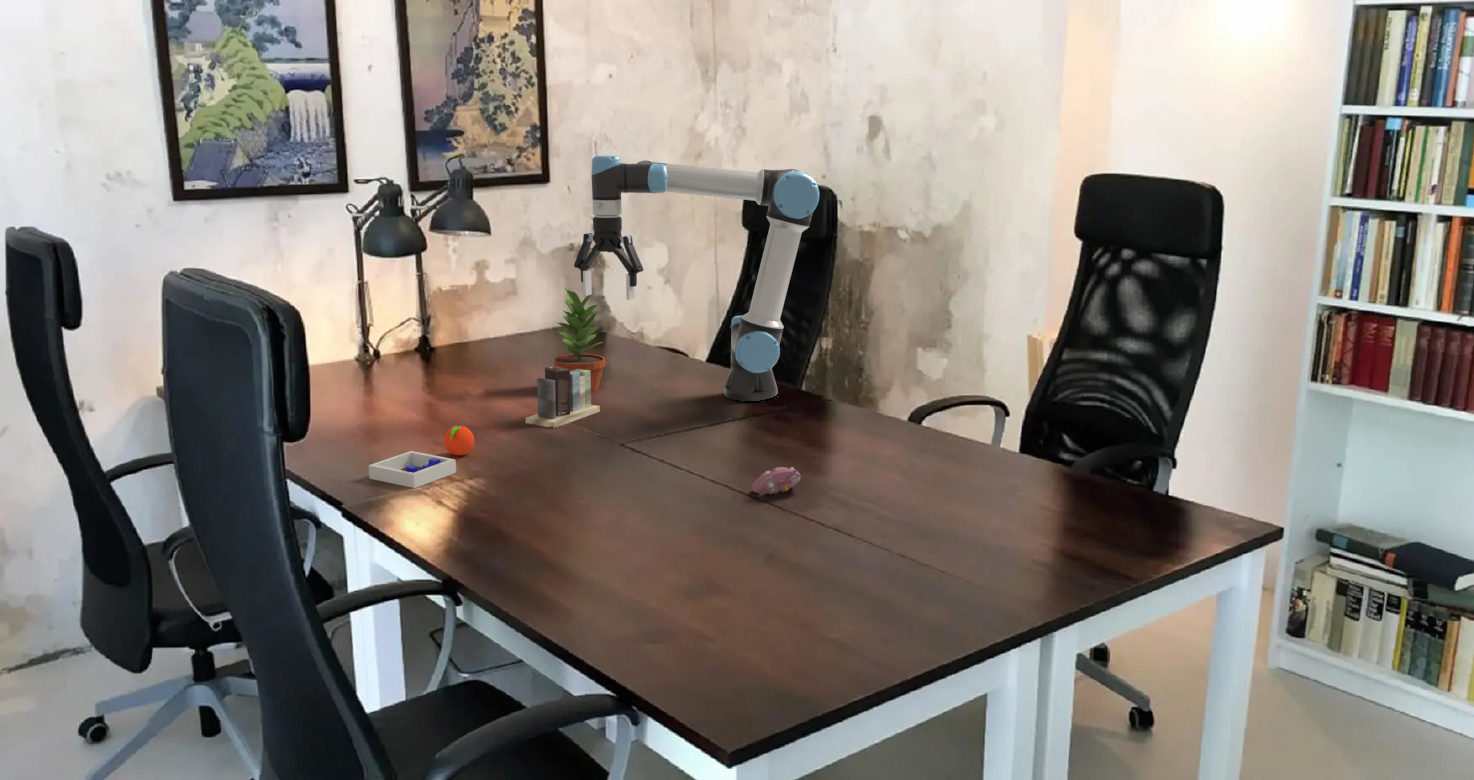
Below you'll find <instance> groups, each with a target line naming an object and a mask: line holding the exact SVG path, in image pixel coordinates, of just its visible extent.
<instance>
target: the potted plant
mask: <svg viewBox="0 0 1474 780" xmlns="http://www.w3.org/2000/svg"><path fill="white" fill-rule="evenodd" d="M564 289H565V291H566V294H567V297H568V298H567V297H565V298H566V300H564V301H565V303H566V305H567V307H568V308H569V310H570V311H565V310H563V309H562V308H560V310H561V311H562V312H563V314H562V317H563V319H564V320H565V321H566V323H565V322H557V320H555V323H557V324H558V325H560V326H561V327H563V328H564V329H565V330H567V331H569V332H571V333H568V332H565V331H563V332H562V331H559V330H557V333H558V334H559V335H561V336H562V342H563V346H564V348H565V349H566V350H567V351H569V352H570V353H571V354H564V355H560V356H556V357H555V358H554V367H556V366H559V367H562V368H565V369H569V370H570V371H573V370H576V369H583V370H590V371H591V393H593V392H596V391H598V390H599V387H600V383H601V379H602V375H603V371H604V368H605V366H606V357H604V356H602V355H599V354H593V353H586V352H588V351H589V350H591V349H593V348H595V347H597V346H599V345H600V344H602V343H603V341H598V342H595V343H593V344H592V345H589V346H587V344H588V343H590V342H591V341H592V340H593V339H594V338H595V337H596V335H597V334H596V333H594V332H595V331H597V330H598V329H599V327H600V324H599V325H598V326H592V324H593V320H594V319H595V318H596V316H597V313H598V312H599V310H597V311H596V309H597V307H599V306H600V303H599V304H593V305H590V306H589V307H588V308H586V309H585V307H584V306H585V305H586V304H587V302H588V301H589V300H590V298H591V297H592V296H593V294H595V291H596V290H597V289H595V291H593V292H592V294H591V295H587V296H586V297H584V299H583V300H582V301H581V299H580V297H579V295H578V294H577V293H576V292H575V291H572V290H570V288H566V287H564ZM564 313H565V314H564ZM593 333H594V334H593ZM573 334H574V335H575V336H576V337H575V336H574V335H573ZM583 349H584V350H583Z"/></svg>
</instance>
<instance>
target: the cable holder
mask: <svg viewBox="0 0 1474 780" xmlns="http://www.w3.org/2000/svg"><path fill="white" fill-rule="evenodd" d="M439 463H441V461H440V459H436V458H432V459H429V463H428V464H426V465H423V466H422V467H420V468H419V467H418V466H413V465H409V466H406V468H405V471H408V472H413V473H414V472H417V471H420V470H422V469H425V468H428V467H431V466H434V465H436V464H439ZM418 468H419V469H418Z"/></svg>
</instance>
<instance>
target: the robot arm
mask: <svg viewBox="0 0 1474 780" xmlns="http://www.w3.org/2000/svg"><path fill="white" fill-rule="evenodd" d="M590 175H591V193H592V194H591V197H592V198H591V199H592V215H593V218H592V230H593V233H591V232H588V233H584V234H583V237H582V244H581V246H580V249H579V251H578V254H577V256H576V258H575V261H574V265H573V267H574V268H577V269H578V270H580V282H581V283H582V287H583V288H582V290H583V292H582V293H583V296H586V297H587V296H588V295H591V294H592V291H593V290H592V269H590V267H591V266H592V265H593V263H594V262H595V260H596V259H597V257H598V256H599V254H600V253H605V252H607V253H613V254H614V255H615V256H616V257H617V258H618V260H619V261H620V263H621V264H622V266H623V267H624V268H625V270H626V271H627V274H625V281H626V282H625V285H626V286H625V287H626V289H625V290H626V291H625V292H626V295H625V297H626V300H633V299H635V297H636V295H635V287H637V283H638V280H637V279H638V278H637V277H638V276H637V275H638V273H641V272H643V271H644V268H643V264H642V262H641V260H640V257H639V256H638V253H637V250H636V249H635V246H634V242H633V237H632V235H624V236H623V235H622V230H623V221H622V220H623V218H622V217H621V216H620V215H622V213H623V212H622V211H623V210H622V194H623V193H625V194H629V193H630V194H632V193H633V194H661V193H663V194H664V193H666V192H667V193H676V194H677V193H679V194H686V195H697V196H706V197H717V198H725V199H726V198H727V199H734V200H746V201H755V202H756V204H757V205H759V206H767V207H768V208H767V212H766V218H767V220H768V222H769V229H768V233H767V236H766V241H765V243H764V244H765V245H764V248H763V249H764V250H763V252H762V257H761V261H760V266H759V270H758V274H757V277H756V281H755V286H754V289H753V294H752V298H751V302H750V305H749V306H750V307H749V310H748V312H747V313H744V314H743V315H735V316H733V317H732V318H731V322H730V323H731V325H730V329H731V337H730V339H731V341H730V343H731V344H730V370H729V373H728V377H727V379H726V383H725V385H724V388H723V389H724V391H723V394H724V395H725V396H726V397H728V398H730V399H729V400H732V399H734V400H733V401H736V400H740V401H739V402H745V401H760V400H765V399H769V398H772V397H774V396H776V395H777V394H778V393H779V391H778V385H777V382H776V379H775V376H774V371H773V367H774V366H775V365H776V364H777V363H778V360H779V359H780V355H781V352H780V351H781V348H780V344H781V339H782V335H783V332H784V327H785V326H784V325H783V323H782V321H781V316H782V313H783V309H784V305H785V301H786V296H787V292H788V289H789V284H790V280H791V277H792V273H793V269H794V265H795V261H796V257H797V253H798V249H799V245H800V241H801V237H802V233H803V232H804V231H806V230H808V228H810V225H811V222H812V217H813V213H814V211H815V210H816V209H817V207H818V204H819V200H820V190H819V186H818V184H817V182H816V180H815V179H814V178H813V177H812V175H810V174H809V173H807V172H804V171H802V170H799V169H795V168H787V169H764V168H763V169H760V170H759V171H757V172H755V171H746V170H737V169H736V170H735V169H727V168H726V169H725V168H714V167H708V166H707V167H705V166H696V165H695V166H694V165H683V164H676V163H666V162H665V163H663V162H656V161H650V160H640V161H639V162H636V163H623V162H622V161H621V157H620V156H619V155H595V156H594V157H593V158H592V160H591V174H590ZM592 242H594V244H593V246H592ZM621 244H623V246H622V245H621ZM591 246H592V248H591ZM590 248H591V251H590ZM589 251H590V252H589ZM588 253H589V254H588ZM724 395H723V396H724ZM725 396H724V397H725ZM726 397H725V398H726ZM728 398H727V399H728Z"/></svg>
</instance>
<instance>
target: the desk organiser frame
mask: <svg viewBox="0 0 1474 780" xmlns="http://www.w3.org/2000/svg"><path fill="white" fill-rule="evenodd" d="M432 458H436V459H440V461H441V463H439V464H436V465H434V466H431V467H428V468H425V469H422V470H420V469H419V470H420V471H419V470H418V471H417V472H414V473H413V472H408V471H406V470H403V469H406V466H409V465H413V466H418V468H422V466H423V465H426V464H428V463H429V459H432ZM456 473H457V462H456V459H454V458H448V457H444V456H439V455H434V454H429V453H424V452H418V451H413V450H410V451H407V452H404V453H401V454H399V455H398V454H397V455H395V456H392V457H389V458H386V459H383V460H381V461H378V462H375V463H372V464H368V478H369V479H370V480H374V481H380V482H384V483H389V484H394V485H398V486H404V487H407V488H411V489H416V488H418V487H421V486H424V485H426V484H429V483H430V484H431V483H432V482H435V481H437V480H441V479H442V478H446V477H449V476H451V475H454V474H456Z"/></svg>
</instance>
